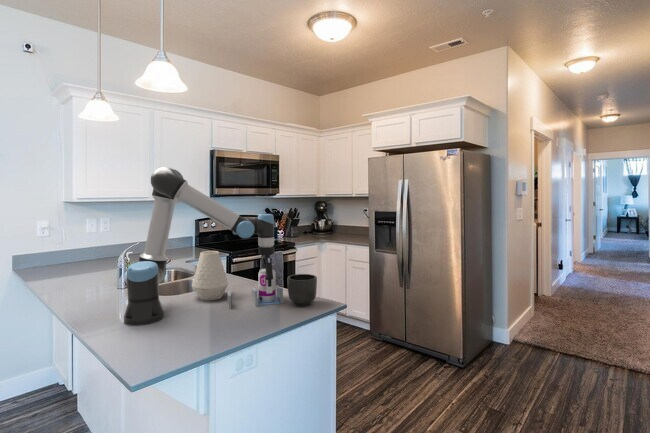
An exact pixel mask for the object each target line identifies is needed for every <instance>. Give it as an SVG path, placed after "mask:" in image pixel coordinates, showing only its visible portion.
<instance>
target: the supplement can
mask: <svg viewBox="0 0 650 433" xmlns="http://www.w3.org/2000/svg"><path fill="white" fill-rule="evenodd" d="M272 272H273V279H272V293H266V280H265V278H267V277H266V269H261V268H260V269H259V272H258V278H257V279H258V285H257V286H258V298H259V300H260V301H261V302H272V301H274V300H275V299H276V285H277V284H276V282H277V281H276V280H277V277H276V276H277V275H276V274H277V273H276V271H275V269H274V268H272ZM269 277H270V276H269Z"/></svg>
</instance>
